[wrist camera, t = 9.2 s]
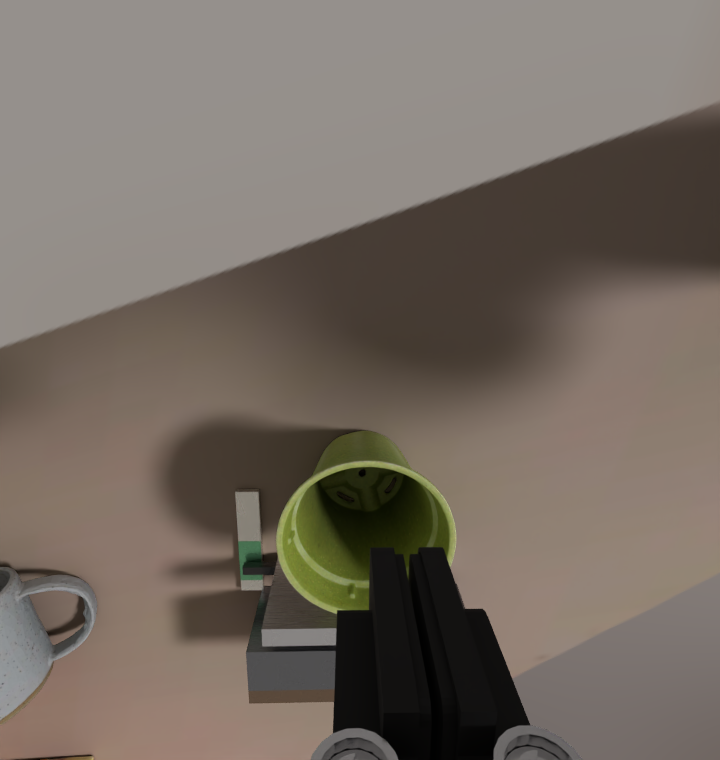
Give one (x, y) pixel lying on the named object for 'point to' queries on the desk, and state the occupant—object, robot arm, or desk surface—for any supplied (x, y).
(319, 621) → the grey flat bar
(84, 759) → the candy box
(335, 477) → the plant pot
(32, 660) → the ceramic mug
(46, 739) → the desk surface
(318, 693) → the grey slotted box
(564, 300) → the desk surface
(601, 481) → the desk surface
